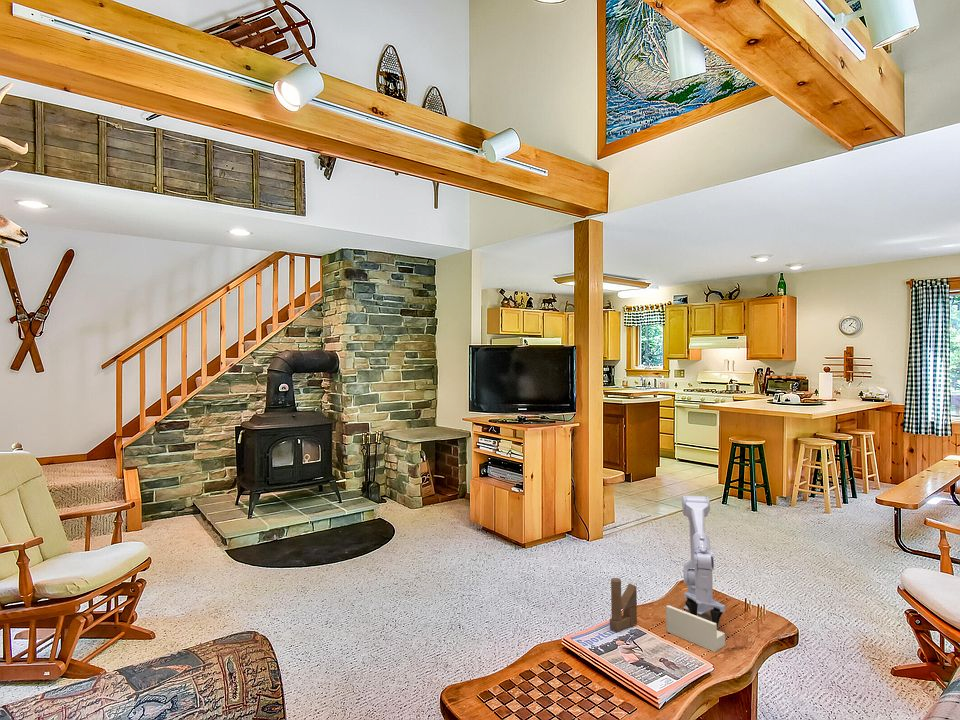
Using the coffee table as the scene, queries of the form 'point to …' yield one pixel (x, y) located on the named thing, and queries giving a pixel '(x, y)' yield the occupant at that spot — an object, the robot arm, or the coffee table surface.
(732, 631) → the coffee table surface
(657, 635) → the coffee table surface
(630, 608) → the brown upright shaped block
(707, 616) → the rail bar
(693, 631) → the stepped cream panel
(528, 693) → the coffee table surface
